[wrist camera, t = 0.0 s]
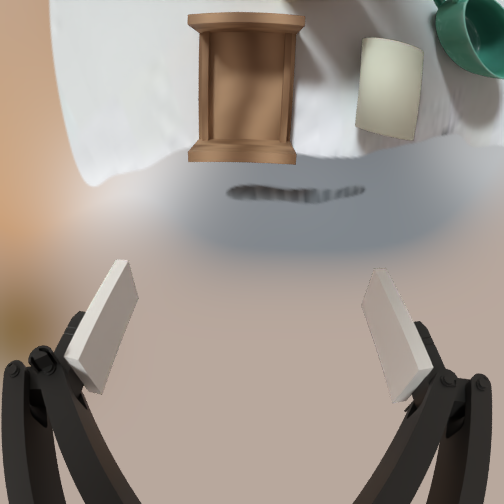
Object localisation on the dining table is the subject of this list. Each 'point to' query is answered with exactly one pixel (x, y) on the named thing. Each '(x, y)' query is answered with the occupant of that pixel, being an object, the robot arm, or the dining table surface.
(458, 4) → the mug
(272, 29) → the cradle
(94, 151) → the dining table surface
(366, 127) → the roll
